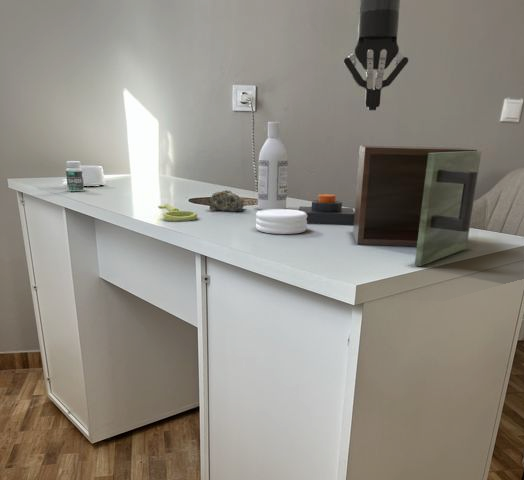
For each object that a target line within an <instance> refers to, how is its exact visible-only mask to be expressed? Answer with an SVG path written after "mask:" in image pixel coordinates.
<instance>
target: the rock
mask: <svg viewBox="0 0 524 480" xmlns="http://www.w3.org/2000/svg"><path fill="white" fill-rule="evenodd" d="M208 203H209V210H210V211H211V212H216V211H222V212H240V211H242V210H243V208H244V199H243V198H242V197H240V196H239V195H237V194H236V193H233V192H232V191H231V190H227V189H226V190H221V191H216V192H215V193H212V195H211V197H210V198H209V200H208Z"/></svg>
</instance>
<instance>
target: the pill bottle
mask: <svg viewBox="0 0 524 480" xmlns="http://www.w3.org/2000/svg"><path fill="white" fill-rule="evenodd" d="M81 166H82V164H81V161H77V160H67V161H66V169H65V176H66V186H67V191H68V192H71V191H81V192H84V191H85V187H84V183H83V171H82V169H81V168H80V167H81Z"/></svg>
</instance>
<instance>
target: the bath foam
mask: <svg viewBox="0 0 524 480" xmlns="http://www.w3.org/2000/svg"><path fill="white" fill-rule="evenodd" d="M288 159H289V157H288V152H287V149H286V148H285V145H284V143H283V142H282V140H281V122H280V121H267V138H266V140H265V141H264V143H263V145H262V147H261V149H260V151H259V154H258V180H257V181H258V183H257V185H258V187H257V194H258V195H257V208H258V210H259V211H261V210H267V209H286V208H287V190H288V167H289V166H288V165H289V164H288V163H289V161H288Z"/></svg>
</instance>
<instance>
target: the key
mask: <svg viewBox="0 0 524 480" xmlns="http://www.w3.org/2000/svg"><path fill="white" fill-rule="evenodd" d="M157 208H158V209H160V210H163V209H165V210H166V211H165V212H163V220H164V221H168V222H183V221H184V222H185V221H195V220H197V218H198V214H197V212H195V211H190V210H180V209H179V208H176V207H175V208H174V207H173V206H172V205H170V204H169V203H165V204H164V205H158V206H157Z"/></svg>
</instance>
